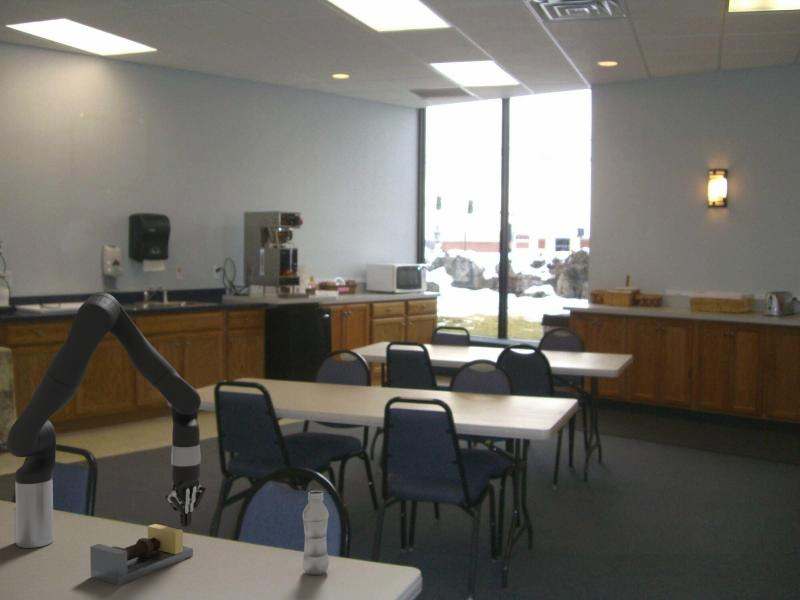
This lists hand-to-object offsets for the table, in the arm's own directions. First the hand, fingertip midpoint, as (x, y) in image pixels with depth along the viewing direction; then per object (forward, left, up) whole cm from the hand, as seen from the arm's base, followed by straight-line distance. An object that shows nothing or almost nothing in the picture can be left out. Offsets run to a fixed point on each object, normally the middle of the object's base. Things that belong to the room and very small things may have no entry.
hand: (185, 525), depth 232 cm
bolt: (0, -17, -4) cm, 18 cm away
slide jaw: (+1, -8, -4) cm, 9 cm away
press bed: (+1, -15, -6) cm, 17 cm away
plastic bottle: (+40, +4, -6) cm, 41 cm away
